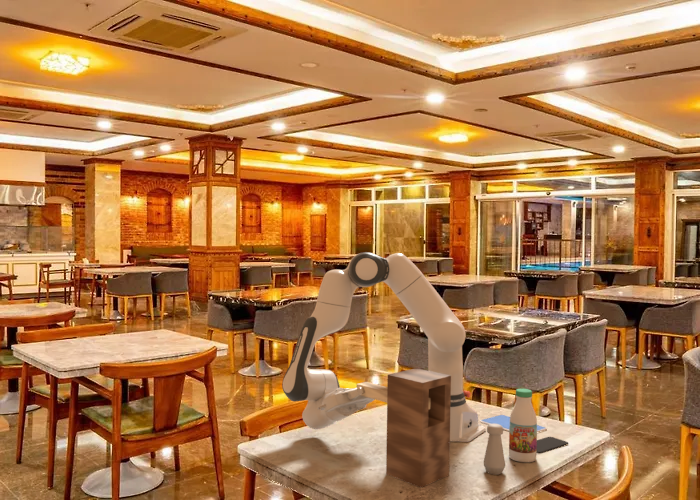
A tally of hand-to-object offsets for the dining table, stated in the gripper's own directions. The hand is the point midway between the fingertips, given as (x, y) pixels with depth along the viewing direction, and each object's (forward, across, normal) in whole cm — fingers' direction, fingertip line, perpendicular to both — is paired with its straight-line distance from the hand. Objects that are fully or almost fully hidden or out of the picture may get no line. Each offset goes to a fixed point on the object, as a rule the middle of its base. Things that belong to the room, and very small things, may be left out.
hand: (369, 388), depth 179 cm
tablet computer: (+1, +57, +25) cm, 62 cm away
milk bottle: (+17, +32, +33) cm, 49 cm away
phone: (+16, +47, +33) cm, 60 cm away
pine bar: (+7, 0, +6) cm, 9 cm away
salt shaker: (+17, +17, +33) cm, 41 cm away
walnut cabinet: (+6, 0, +26) cm, 27 cm away
